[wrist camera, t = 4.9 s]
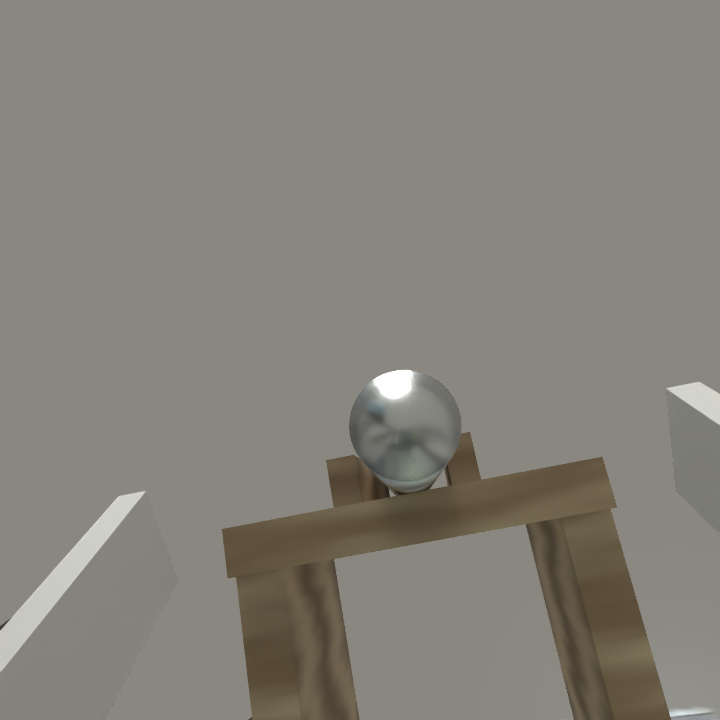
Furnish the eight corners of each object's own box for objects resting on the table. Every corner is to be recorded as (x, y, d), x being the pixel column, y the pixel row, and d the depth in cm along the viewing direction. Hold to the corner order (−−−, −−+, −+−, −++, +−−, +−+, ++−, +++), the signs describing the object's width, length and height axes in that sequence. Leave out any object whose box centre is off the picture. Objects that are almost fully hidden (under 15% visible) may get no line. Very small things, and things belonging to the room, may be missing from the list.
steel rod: (476, 464, 15) (442, 357, 16) (365, 494, 15) (337, 387, 16) (438, 493, 38) (424, 449, 39) (394, 505, 38) (382, 461, 39)
